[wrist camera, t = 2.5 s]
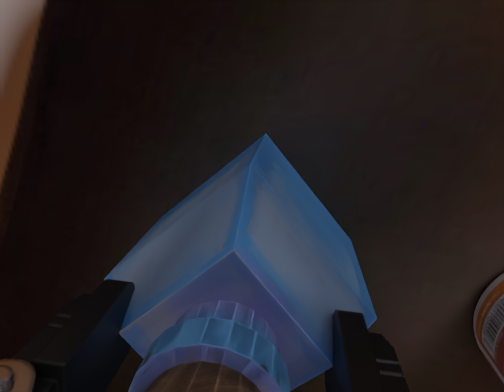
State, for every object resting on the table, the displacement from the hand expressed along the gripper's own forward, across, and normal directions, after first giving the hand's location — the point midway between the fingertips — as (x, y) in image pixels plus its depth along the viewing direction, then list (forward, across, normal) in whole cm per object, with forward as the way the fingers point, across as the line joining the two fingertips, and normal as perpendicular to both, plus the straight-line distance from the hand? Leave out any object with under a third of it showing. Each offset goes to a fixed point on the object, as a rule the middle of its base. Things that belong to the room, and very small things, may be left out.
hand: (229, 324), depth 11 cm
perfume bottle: (+8, 0, 0) cm, 8 cm away
